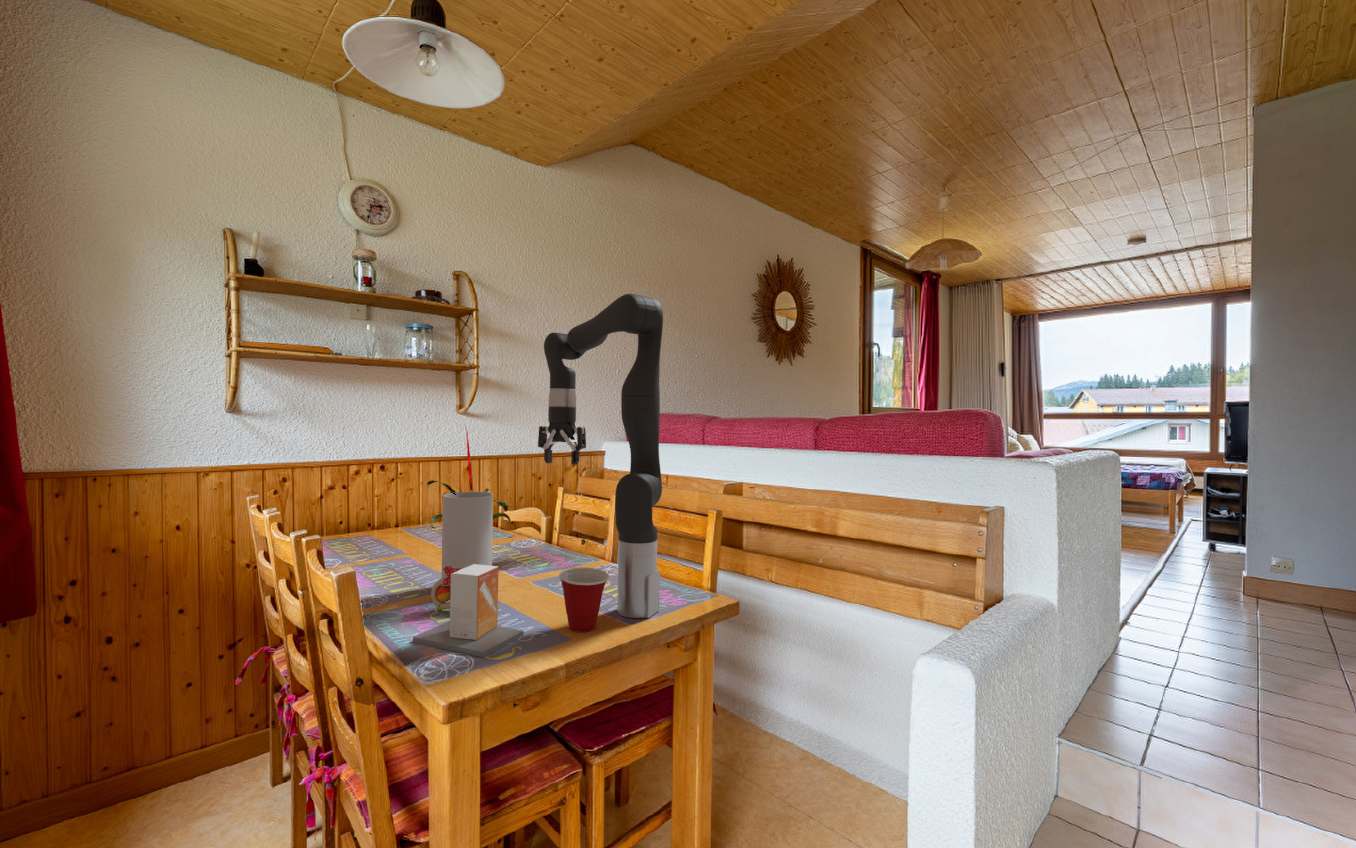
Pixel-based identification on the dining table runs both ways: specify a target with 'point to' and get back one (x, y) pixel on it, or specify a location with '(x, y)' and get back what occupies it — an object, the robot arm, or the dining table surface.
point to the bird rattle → (443, 589)
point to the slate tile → (468, 640)
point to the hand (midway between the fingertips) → (561, 463)
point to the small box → (473, 601)
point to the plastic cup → (583, 596)
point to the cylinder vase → (467, 529)
